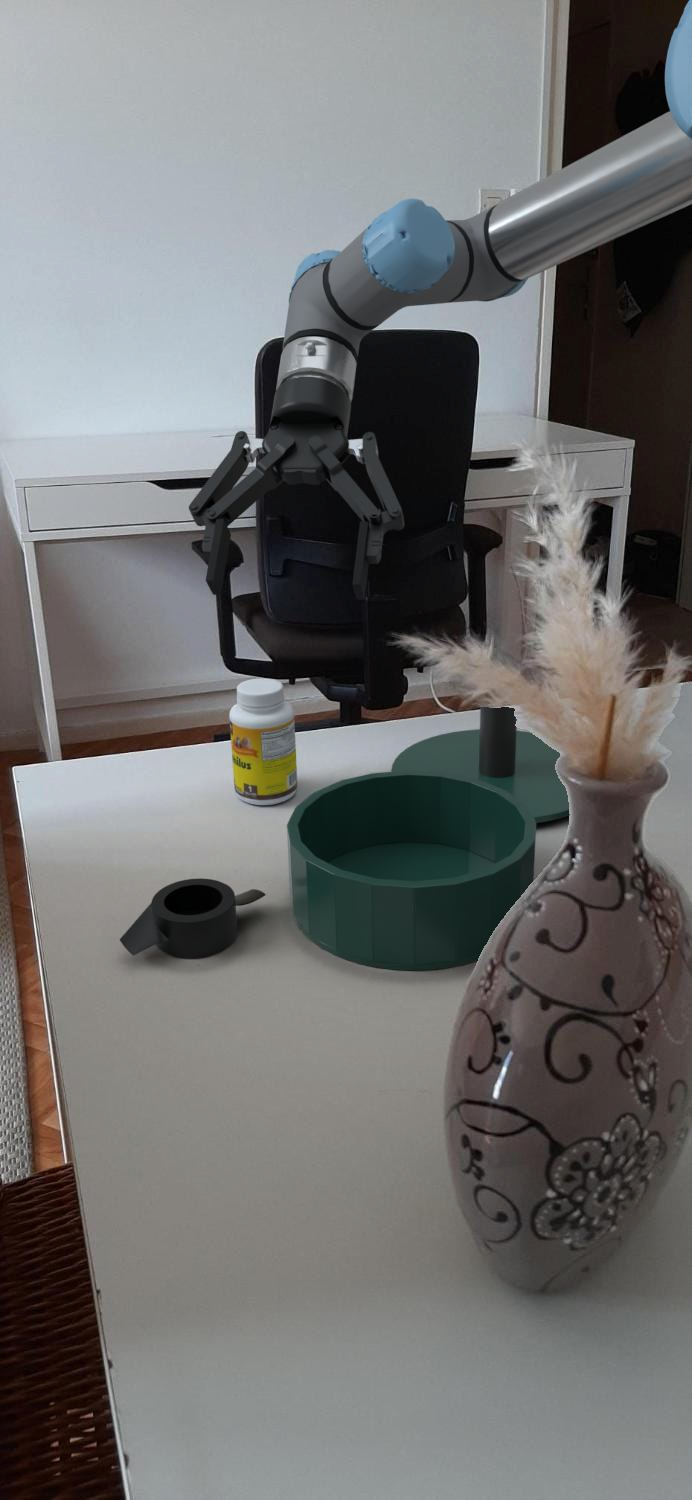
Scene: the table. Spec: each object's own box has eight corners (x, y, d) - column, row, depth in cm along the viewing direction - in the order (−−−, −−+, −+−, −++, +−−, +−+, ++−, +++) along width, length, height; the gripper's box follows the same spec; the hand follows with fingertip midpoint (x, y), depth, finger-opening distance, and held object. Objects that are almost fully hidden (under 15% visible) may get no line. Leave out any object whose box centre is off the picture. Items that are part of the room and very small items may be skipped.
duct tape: (268, 961, 78) (265, 925, 77) (119, 971, 77) (114, 934, 76) (266, 902, 85) (264, 867, 84) (130, 910, 84) (126, 876, 83)
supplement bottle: (226, 787, 103) (218, 680, 99) (284, 775, 105) (279, 670, 101) (246, 813, 98) (239, 702, 94) (307, 800, 100) (302, 690, 96)
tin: (535, 851, 91) (539, 777, 88) (527, 981, 75) (531, 895, 72) (318, 836, 94) (315, 764, 91) (266, 958, 78) (261, 876, 76)
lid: (601, 745, 109) (609, 643, 105) (606, 839, 92) (615, 722, 88) (406, 735, 113) (405, 636, 108) (376, 824, 96) (374, 711, 92)
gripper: (180, 372, 111) (142, 565, 103) (438, 371, 106) (417, 573, 99) (200, 421, 118) (166, 605, 110) (443, 422, 113) (424, 613, 106)
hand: (284, 590), depth 105 cm, fingers open, 13 cm apart
